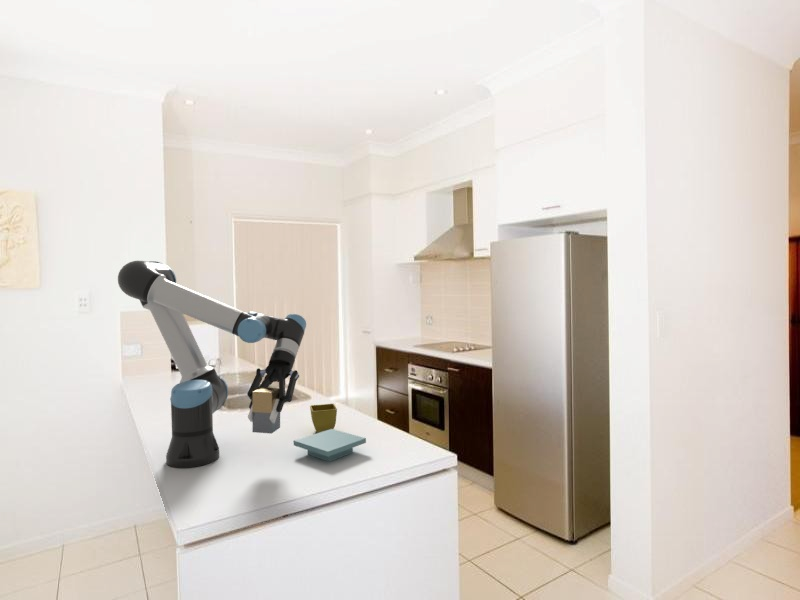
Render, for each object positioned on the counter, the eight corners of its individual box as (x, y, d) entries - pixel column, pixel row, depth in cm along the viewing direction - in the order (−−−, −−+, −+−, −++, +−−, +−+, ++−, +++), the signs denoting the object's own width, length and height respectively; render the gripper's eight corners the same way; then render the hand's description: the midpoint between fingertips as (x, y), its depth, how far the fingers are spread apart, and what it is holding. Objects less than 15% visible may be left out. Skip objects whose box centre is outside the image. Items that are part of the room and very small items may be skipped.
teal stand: (293, 454, 158) (293, 440, 158) (331, 441, 171) (331, 428, 171) (328, 466, 148) (328, 451, 148) (366, 452, 160) (365, 438, 160)
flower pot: (312, 436, 177) (312, 411, 177) (310, 429, 185) (309, 405, 185) (337, 434, 179) (337, 409, 179) (334, 427, 188) (333, 403, 187)
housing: (252, 432, 148) (252, 391, 148) (261, 426, 154) (261, 387, 153) (271, 433, 147) (271, 392, 146) (280, 427, 153) (280, 388, 152)
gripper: (314, 364, 163) (295, 428, 148) (259, 361, 166) (235, 424, 151) (309, 350, 158) (288, 415, 142) (252, 347, 161) (226, 411, 146)
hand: (261, 420), depth 147 cm, fingers closed on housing, 6 cm apart
